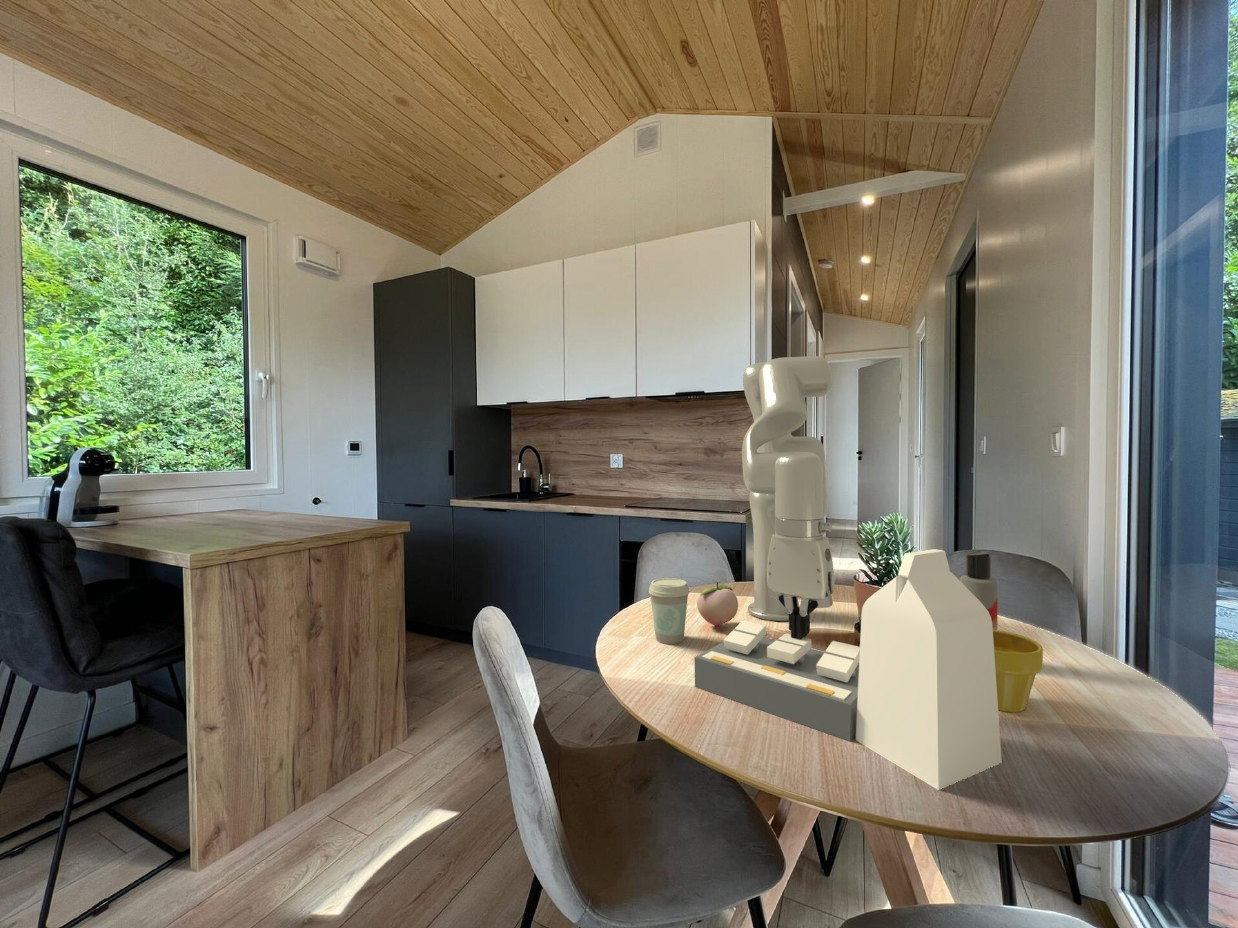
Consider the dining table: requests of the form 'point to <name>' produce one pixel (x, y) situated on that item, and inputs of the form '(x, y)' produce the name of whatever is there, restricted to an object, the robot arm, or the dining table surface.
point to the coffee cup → (669, 609)
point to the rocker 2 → (788, 648)
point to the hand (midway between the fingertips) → (799, 636)
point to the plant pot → (1015, 669)
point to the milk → (928, 674)
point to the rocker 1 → (745, 637)
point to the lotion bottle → (982, 583)
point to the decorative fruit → (717, 605)
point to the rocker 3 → (839, 661)
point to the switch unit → (781, 687)
